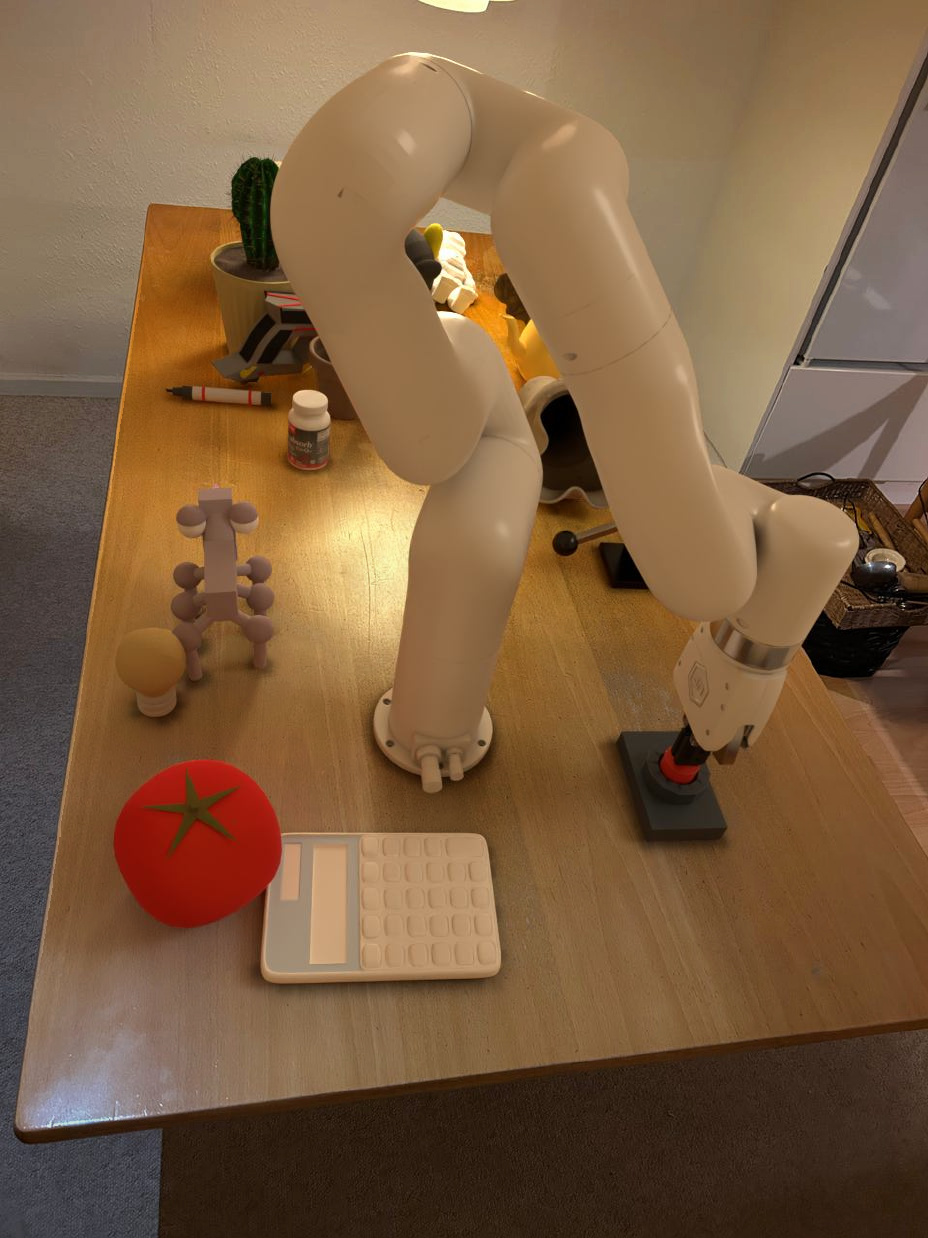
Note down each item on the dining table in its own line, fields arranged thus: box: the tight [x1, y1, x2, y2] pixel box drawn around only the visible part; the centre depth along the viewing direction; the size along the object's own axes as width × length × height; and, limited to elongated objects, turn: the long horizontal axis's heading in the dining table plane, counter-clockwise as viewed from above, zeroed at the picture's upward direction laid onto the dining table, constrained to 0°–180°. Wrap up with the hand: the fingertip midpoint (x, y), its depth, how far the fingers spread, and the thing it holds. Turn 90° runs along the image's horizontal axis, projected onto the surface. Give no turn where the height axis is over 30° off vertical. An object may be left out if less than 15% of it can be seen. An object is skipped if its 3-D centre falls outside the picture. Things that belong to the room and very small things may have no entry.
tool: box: [211, 290, 319, 387], centre depth 133 cm, size 5×25×15 cm, turn 134°
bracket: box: [597, 541, 650, 590], centre depth 111 cm, size 10×8×12 cm
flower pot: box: [309, 336, 359, 420], centre depth 128 cm, size 12×11×10 cm
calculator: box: [260, 832, 502, 984], centre depth 75 cm, size 13×20×2 cm, turn 95°
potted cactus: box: [209, 154, 299, 354], centre depth 130 cm, size 15×15×30 cm
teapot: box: [498, 313, 562, 383], centre depth 143 cm, size 14×20×13 cm
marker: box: [164, 385, 273, 407], centre depth 127 cm, size 15×2×2 cm, turn 96°
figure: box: [430, 230, 479, 315], centre depth 166 cm, size 13×8×25 cm
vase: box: [517, 376, 610, 510], centre depth 125 cm, size 22×22×28 cm
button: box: [660, 746, 700, 784], centre depth 86 cm, size 4×4×2 cm
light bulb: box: [114, 626, 187, 718], centre depth 84 cm, size 6×6×10 cm
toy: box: [404, 223, 444, 291], centre depth 152 cm, size 20×16×20 cm
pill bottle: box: [286, 389, 331, 471], centre depth 118 cm, size 6×6×10 cm
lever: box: [551, 520, 619, 558], centre depth 109 cm, size 16×3×3 cm, turn 97°
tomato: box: [112, 758, 282, 930], centre depth 71 cm, size 13×14×12 cm
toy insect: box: [170, 482, 275, 682], centre depth 93 cm, size 20×11×14 cm, turn 12°
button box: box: [615, 730, 728, 842], centre depth 88 cm, size 12×8×4 cm, turn 7°
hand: (686, 758), depth 86 cm, fingers closed
